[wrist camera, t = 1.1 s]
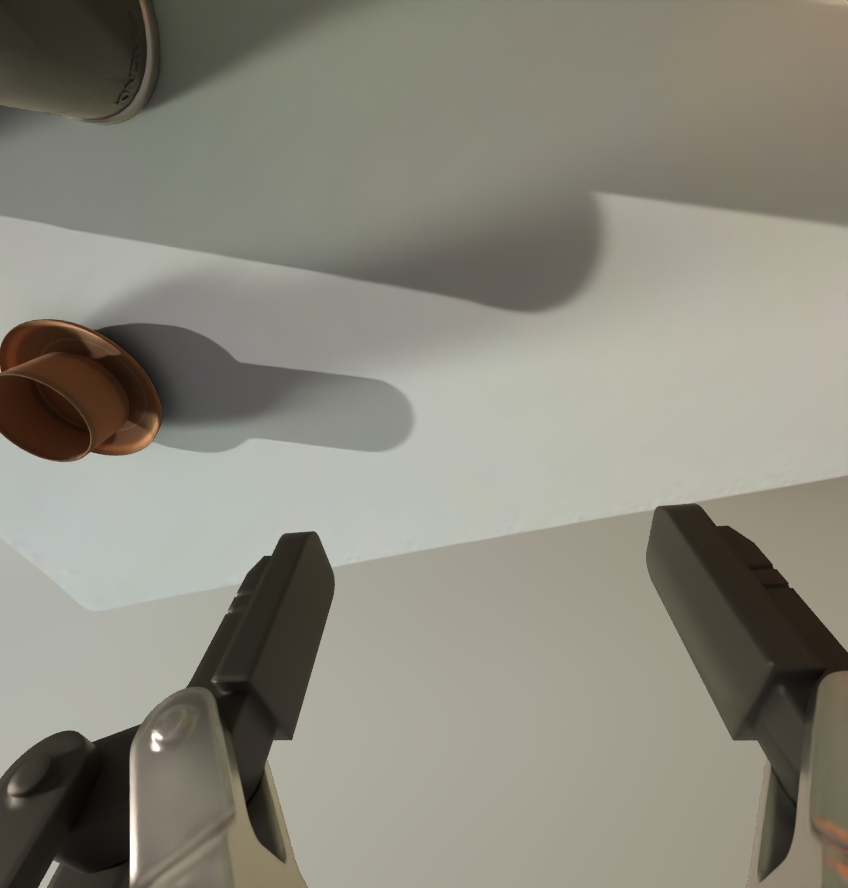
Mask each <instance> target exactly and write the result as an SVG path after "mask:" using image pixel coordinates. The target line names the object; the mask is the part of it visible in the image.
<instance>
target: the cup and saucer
mask: <svg viewBox="0 0 848 888" xmlns="http://www.w3.org/2000/svg"><path fill="white" fill-rule="evenodd" d="M0 368H1V373H0V433H1V434H2V435H3V436H5V437H6V438H7V439H8V440H9V441H11V442H12V443H13V444H15V445H16V446H18V447H19V448H21V449H23V450H25V451H27V452H29V453H31V454H33V455H35V456H38V457H40V458H44V459H47V460H51V461H58V462H71V461H76V460H79V459H81V458H83V457H84V456H86V455H87V454H88V453H90V452H93V453H97V454H103V455H114V456H118V455H128V454H132V453H135V452H138V451H140V450H142V449H144V448H145V447H147V446H148V445H149V444H150V443H151V442H152V441H153V439H154V438H155V437H156V435H157V433H158V431H159V428H160V425H161V419H162V411H161V404H160V400H159V397H158V394H157V392H156V390H155V388H154V386H153V384H152V382H151V380H150V379H149V377H148V376H147V374H146V373H145V371H144V370H143V369H142V368H141V366H140V365H139V364H138V363H137V362H136V361H135V360H134V359H133V358H132V357H131V356H130V355H129V354H128V353H127V352H126V351H124V350H123V349H122V348H121V347H120V346H118V345H117V344H115V343H114V342H113V341H111V340H110V339H108V338H106V337H105V336H103V335H101V334H99V333H98V332H96V331H93V330H91V329H89V328H87V327H84V326H81V325H79V324H75V323H72V322H67V321H62V320H53V319H43V320H33V321H29V322H25V323H22V324H20V325H18V326H16V327H14V328H13V329H12V330H10V331H9V332H8V334H7V335H6V336H5V338H4V339H3V341H2V344H1V347H0Z"/></svg>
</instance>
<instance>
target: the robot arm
mask: <svg viewBox="0 0 848 888" xmlns="http://www.w3.org/2000/svg"><path fill="white" fill-rule="evenodd" d="M158 69H159V38H158V30H157V24H156V19H155V15H154V11H153V7H152V4H151V1H150V0H0V105H3V106H8V107H14V108H20V109H26V110H32V111H37V112H42V113H48V114H54V115H60V116H66V117H68V118H71V119H74V120H78V121H83V122H89V123H95V124H104V125H108V124H116V123H121V122H124V121H126V120H128V119H130V118H132V117H133V116H135V115H136V114H137V113H138V112H140V110H141V109H142V108H143V107H144V106H145V105H146V103H147V102H148V100H149V98H150V96H151V94H152V92H153V89H154V87H155V83H156V80H157V75H158ZM646 561H647V568H648V572H649V575H650V577H651V580H652V582H653V584H654V586H655V588H656V590H657V592H658V594H659V596H660V598H661V600H662V602H663V604H664V606H665V608H666V610H667V612H668V614H669V616H670V618H671V620H672V621H673V624H674V626H675V628H676V629H677V631H678V633H679V635H680V637H681V639H682V641H683V643H684V645H685V647H686V649H687V651H688V653H689V655H690V657H691V659H692V661H693V663H694V665H695V667H696V669H697V671H698V673H699V674H700V677H701V678H702V680H703V682H704V684H705V686H706V688H707V690H708V692H709V694H710V696H711V698H712V700H713V702H714V704H715V706H716V708H717V710H718V712H719V714H720V716H721V718H722V720H723V722H724V723H725V725H726V727H727V729H728V731H729V733H730V735H731V737H732V739H733V740H758V742H759V744H760V746H761V747H762V749H763V751H764V753H765V755H766V756H767V758H768V759H767V761H766V763H765V767H764V774H763V780H762V787H761V794H760V801H759V808H758V815H757V821H756V828H755V835H754V842H753V850H752V856H751V863H750V870H749V875H748V880H747V885H746V888H848V652H847V651H846V650H845V649H844V648H843V647H842V645H841V644H839V642H838V641H837V640H836V638H835V637H834V636H833V635H832V634H831V632H830V631H829V630H828V629H827V628H826V627H825V625H823V623H822V622H821V621H820V620H819V618H818V617H817V616H816V615H815V614H814V613H813V611H811V609H810V608H809V607H808V606H807V604H806V603H805V602H804V601H803V600H802V599H801V597H800V596H799V595H798V594H797V593H796V591H795V590H794V589H793V588H789V586H788V582H787V581H786V580H785V579H784V577H783V576H782V575H781V574H780V573H779V572H778V570H777V569H774V568H773V565H772V563H771V562H770V561H769V560H768V559H767V557H766V556H765V555H764V554H763V553H762V552H761V551H760V549H759V548H758V547H757V546H756V545H755V544H754V543H753V542H752V541H750V540H749V539H747V538H746V537H744V536H743V535H741V534H740V533H738V532H737V531H735V530H734V529H732V528H731V527H729V526H716V525H715V524H714V523H713V521H712V520H711V519H710V517H709V516H708V515H707V514H706V512H705V511H704V510H703V509H702V508H701V507H700V506H699V505H697V504H681V505H668V506H658V507H657V508H656V509H655V512H654V516H653V521H652V526H651V531H650V536H649V541H648V547H647V552H646ZM334 587H335V581H334V574H333V571H332V568H331V565H330V563H329V560H328V558H327V556H326V553H325V551H324V548H323V546H322V543H321V541H320V538H319V536H318V534H317V533H316V532H314V531H312V532H298V533H286V534H284V535H282V536H281V538H280V539H279V541H278V544H277V546H276V548H275V550H274V552H273V554H272V556H264V557H263V558H262V559H261V560H260V561H259V562H258V563H257V564H256V565H255V566H254V567H253V568H252V569H251V570H250V571H249V572H248V573H247V575H246V577H245V579H244V581H243V583H242V585H241V586H240V588H239V590H238V592H237V597H235V598H234V600H233V602H232V604H231V605H230V608H229V609H228V611H229V612H228V614H226V615H225V617H224V619H223V621H222V623H221V625H220V626H219V628H218V630H217V632H216V634H215V636H214V638H213V640H212V641H211V644H210V645H209V647H208V649H207V651H206V653H205V655H204V657H203V659H202V660H201V662H200V664H199V666H198V668H197V670H196V672H195V674H194V676H193V678H192V679H191V681H190V683H189V684H188V686H187V687H186V688H185V689H182V690H180V691H178V692H176V693H174V694H172V695H170V696H169V697H168V698H166V699H164V700H163V701H162V702H161V703H160V704H158V705H157V706H156V707H155V708H154V709H153V711H151V712H150V714H149V715H148V716H147V717H146V718H145V720H144V721H143V723H142V724H140V725H137V726H135V727H132V728H129V729H126V730H124V731H121V732H118V733H116V734H113V735H111V736H108V737H105V738H102V739H99V740H97V741H94V742H90V741H89V740H88V739H86V738H85V737H84V736H82V735H81V734H80V733H78V732H75V731H63V732H60V733H56V734H53V735H51V736H49V737H47V738H45V739H44V740H42V741H40V742H39V743H37V744H36V745H34V746H33V747H32V748H30V749H29V750H28V751H26V753H24V754H23V755H22V756H21V757H20V758H19V759H18V760H16V761H15V762H14V763H13V764H12V766H11V767H10V768H9V769H8V770H7V771H6V772H5V774H4V775H3V776H2V777H1V779H0V888H38V887H39V885H40V883H41V881H42V879H43V878H44V876H45V874H46V872H47V870H48V868H49V867H50V865H51V863H52V861H53V860H54V861H56V862H58V863H60V864H59V866H58V868H57V870H56V872H55V874H54V875H53V877H52V879H51V881H50V883H49V885H48V886H47V888H308V887H307V885H306V883H305V881H304V879H303V877H302V875H301V873H300V871H299V868H298V866H297V863H296V860H295V857H294V853H293V849H292V846H291V842H290V839H289V835H288V831H287V828H286V824H285V820H284V816H283V813H282V809H281V805H280V802H279V798H278V795H277V791H276V787H275V784H274V780H273V776H272V773H271V769H270V765H269V763H268V760H267V757H268V754H269V751H270V748H271V745H272V742H273V740H292V738H293V734H294V731H295V728H296V724H297V721H298V717H299V714H300V710H301V707H302V703H303V700H304V696H305V693H306V689H307V686H308V683H309V679H310V676H311V672H312V669H313V665H314V662H315V658H316V654H317V651H318V648H319V644H320V640H321V637H322V634H323V630H324V627H325V623H326V620H327V616H328V613H329V609H330V606H331V602H332V599H333V595H334Z"/></svg>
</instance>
